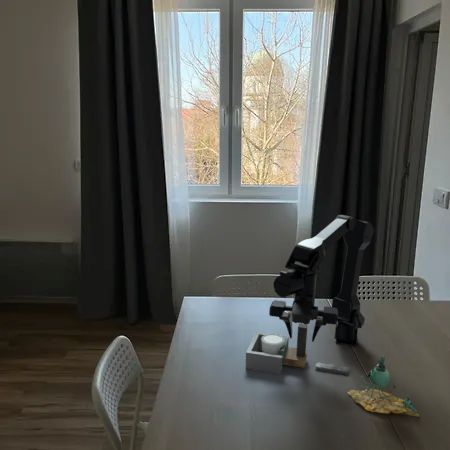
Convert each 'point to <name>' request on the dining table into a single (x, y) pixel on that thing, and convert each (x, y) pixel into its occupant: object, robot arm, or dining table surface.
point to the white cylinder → (272, 343)
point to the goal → (262, 357)
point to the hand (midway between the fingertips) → (301, 339)
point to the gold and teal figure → (381, 394)
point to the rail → (332, 368)
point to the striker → (296, 349)
